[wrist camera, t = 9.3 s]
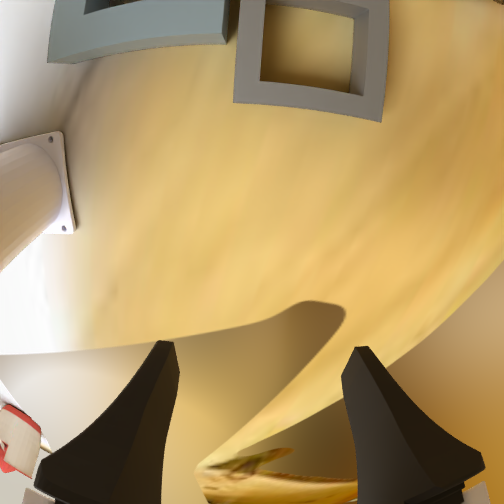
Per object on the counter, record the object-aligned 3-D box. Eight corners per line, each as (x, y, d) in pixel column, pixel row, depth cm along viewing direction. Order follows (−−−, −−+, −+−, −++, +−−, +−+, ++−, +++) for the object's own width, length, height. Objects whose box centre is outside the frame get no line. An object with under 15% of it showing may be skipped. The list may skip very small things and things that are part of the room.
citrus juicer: (34, 413, 42) (11, 478, 25) (54, 437, 51) (38, 492, 34) (-10, 387, 40) (-35, 444, 23) (13, 416, 49) (-5, 465, 31)
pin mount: (235, 102, 15) (233, 102, 13) (244, -13, 11) (243, -29, 9) (364, 118, 15) (381, 122, 13) (372, 8, 11) (389, -2, 9)
